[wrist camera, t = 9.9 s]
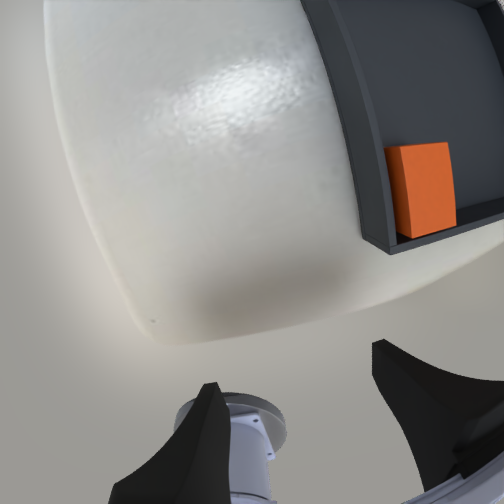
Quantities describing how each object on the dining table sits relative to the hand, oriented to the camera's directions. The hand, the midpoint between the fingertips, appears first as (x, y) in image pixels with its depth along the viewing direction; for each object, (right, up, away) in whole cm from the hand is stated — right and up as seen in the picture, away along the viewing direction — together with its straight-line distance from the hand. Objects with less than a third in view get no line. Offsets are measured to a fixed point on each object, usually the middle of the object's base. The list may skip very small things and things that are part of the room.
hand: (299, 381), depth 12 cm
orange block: (+9, +11, +7) cm, 16 cm away
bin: (+15, +20, +6) cm, 26 cm away
